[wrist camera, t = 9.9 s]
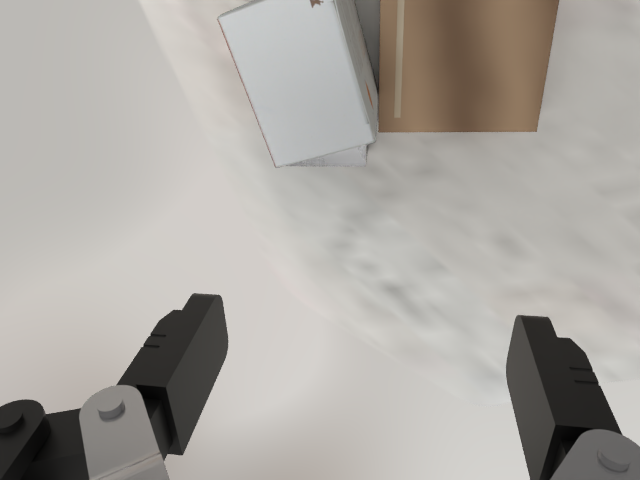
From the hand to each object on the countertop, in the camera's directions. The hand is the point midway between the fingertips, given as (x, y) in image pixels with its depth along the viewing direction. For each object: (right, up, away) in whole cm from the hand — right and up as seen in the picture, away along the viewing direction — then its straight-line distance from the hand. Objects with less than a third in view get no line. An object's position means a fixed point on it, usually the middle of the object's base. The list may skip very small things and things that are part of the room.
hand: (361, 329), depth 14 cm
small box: (-1, +15, +19) cm, 25 cm away
